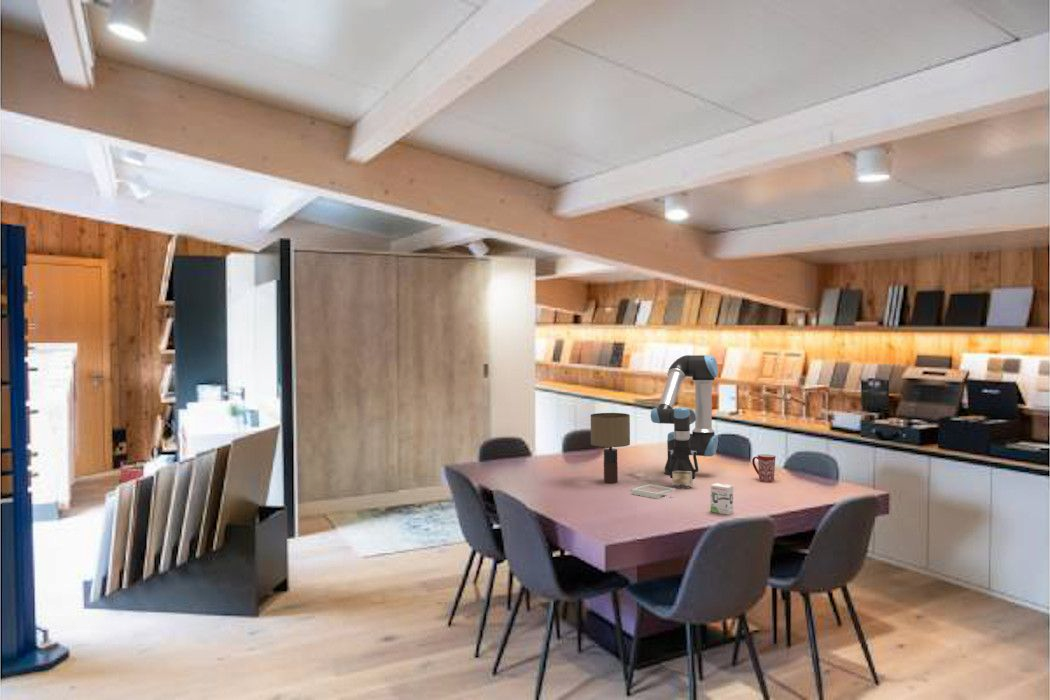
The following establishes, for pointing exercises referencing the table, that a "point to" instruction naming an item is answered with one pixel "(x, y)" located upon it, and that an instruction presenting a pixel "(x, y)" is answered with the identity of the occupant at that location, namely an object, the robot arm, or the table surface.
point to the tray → (651, 494)
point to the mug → (765, 467)
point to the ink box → (722, 498)
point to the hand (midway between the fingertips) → (682, 485)
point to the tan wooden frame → (682, 477)
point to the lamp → (610, 439)
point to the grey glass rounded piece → (682, 486)
